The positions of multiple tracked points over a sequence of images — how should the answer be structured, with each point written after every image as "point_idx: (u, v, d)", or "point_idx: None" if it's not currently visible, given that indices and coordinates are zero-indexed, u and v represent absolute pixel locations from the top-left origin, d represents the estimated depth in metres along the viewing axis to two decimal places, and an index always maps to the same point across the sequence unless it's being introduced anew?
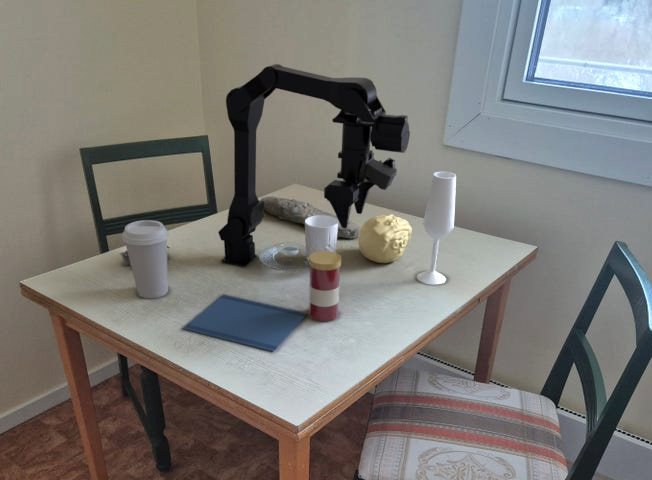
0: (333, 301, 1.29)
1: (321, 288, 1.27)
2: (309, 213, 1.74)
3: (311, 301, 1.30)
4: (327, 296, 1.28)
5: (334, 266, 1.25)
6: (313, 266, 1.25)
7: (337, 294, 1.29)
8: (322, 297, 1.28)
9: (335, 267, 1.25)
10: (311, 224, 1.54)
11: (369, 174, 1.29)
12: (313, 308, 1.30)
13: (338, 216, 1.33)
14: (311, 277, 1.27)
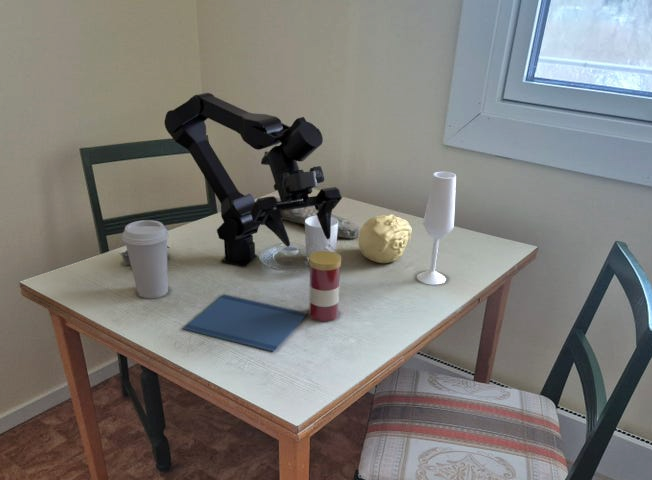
0: (333, 301, 1.29)
1: (321, 288, 1.27)
2: (309, 213, 1.74)
3: (311, 301, 1.30)
4: (327, 296, 1.28)
5: (334, 266, 1.25)
6: (313, 266, 1.25)
7: (337, 294, 1.29)
8: (322, 297, 1.28)
9: (335, 267, 1.25)
10: (311, 224, 1.54)
11: (286, 184, 1.29)
12: (313, 308, 1.30)
13: (279, 237, 1.31)
14: (311, 277, 1.27)
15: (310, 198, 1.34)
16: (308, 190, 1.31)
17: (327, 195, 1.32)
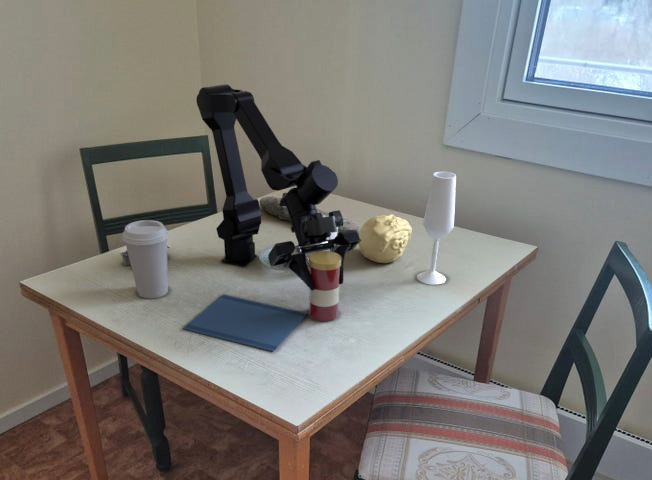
0: (333, 301, 1.29)
1: (321, 288, 1.27)
2: None
3: (311, 301, 1.30)
4: (327, 296, 1.28)
5: (334, 266, 1.25)
6: (313, 266, 1.25)
7: (337, 294, 1.29)
8: (322, 297, 1.28)
9: (335, 267, 1.25)
10: None
11: (304, 228, 1.25)
12: (313, 308, 1.30)
13: (303, 280, 1.28)
14: None
15: (328, 241, 1.31)
16: (327, 234, 1.28)
17: (346, 238, 1.29)
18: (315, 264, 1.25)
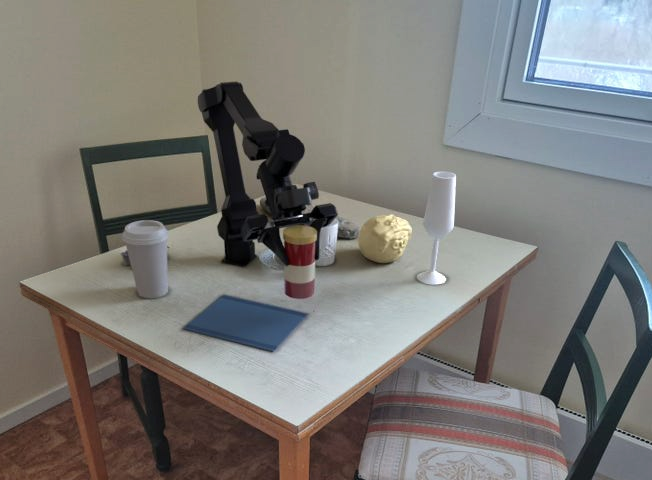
0: (309, 278, 1.24)
1: (296, 264, 1.22)
2: None
3: (286, 278, 1.25)
4: (302, 272, 1.22)
5: (309, 240, 1.19)
6: (287, 240, 1.20)
7: (313, 270, 1.24)
8: (297, 273, 1.23)
9: (310, 241, 1.20)
10: None
11: (278, 201, 1.20)
12: (288, 285, 1.25)
13: (277, 255, 1.23)
14: None
15: (304, 215, 1.25)
16: (302, 207, 1.22)
17: (322, 212, 1.24)
18: (289, 238, 1.19)
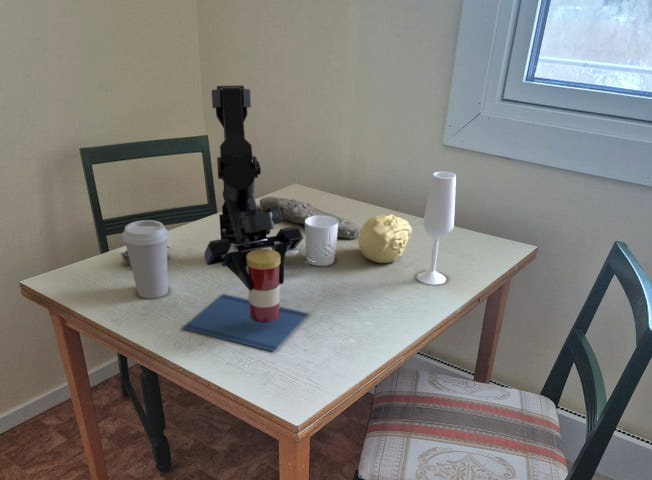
0: (273, 302, 1.23)
1: (259, 288, 1.21)
2: (309, 213, 1.74)
3: (250, 301, 1.24)
4: (266, 296, 1.22)
5: (272, 265, 1.18)
6: (250, 265, 1.19)
7: (277, 294, 1.23)
8: (261, 297, 1.22)
9: (273, 266, 1.19)
10: (311, 224, 1.54)
11: (241, 225, 1.19)
12: (252, 309, 1.24)
13: (241, 280, 1.22)
14: (249, 276, 1.21)
15: (269, 238, 1.24)
16: (265, 231, 1.22)
17: (286, 236, 1.23)
18: (252, 263, 1.18)
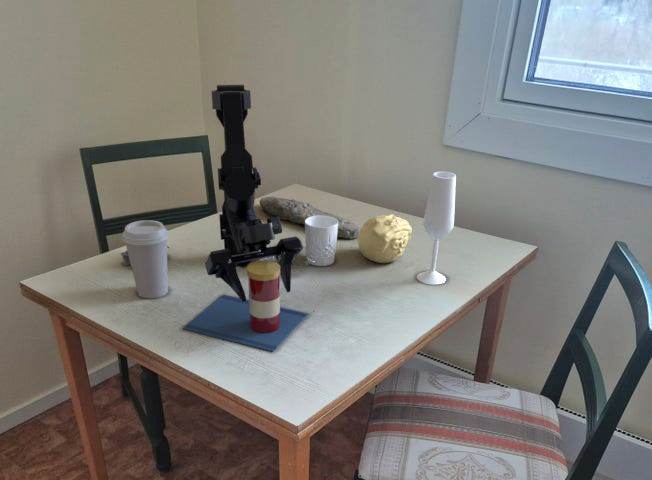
0: (274, 313, 1.24)
1: (259, 299, 1.22)
2: (309, 213, 1.74)
3: (251, 312, 1.25)
4: (266, 307, 1.23)
5: (272, 276, 1.20)
6: (250, 276, 1.20)
7: (277, 305, 1.24)
8: (261, 308, 1.23)
9: (273, 277, 1.20)
10: (311, 224, 1.54)
11: (241, 235, 1.20)
12: (253, 320, 1.26)
13: (235, 291, 1.23)
14: (249, 288, 1.23)
15: (269, 248, 1.25)
16: (266, 241, 1.23)
17: (287, 246, 1.24)
18: (252, 274, 1.20)
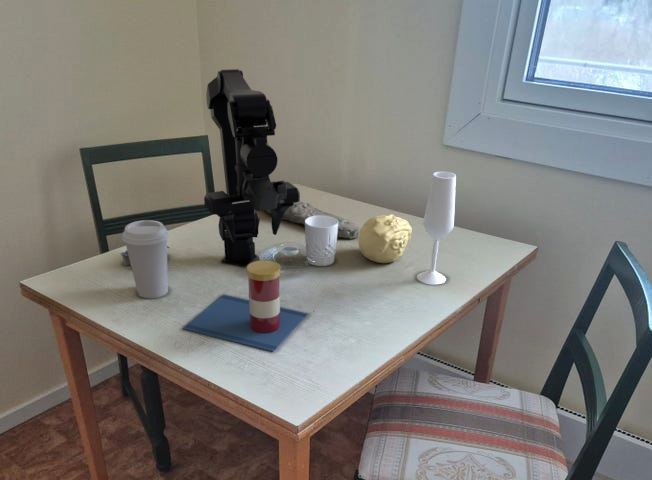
0: (274, 313, 1.24)
1: (259, 299, 1.22)
2: (309, 213, 1.74)
3: (251, 312, 1.25)
4: (266, 307, 1.23)
5: (272, 276, 1.20)
6: (250, 276, 1.20)
7: (277, 305, 1.24)
8: (261, 308, 1.23)
9: (273, 277, 1.20)
10: (311, 224, 1.54)
11: (246, 191, 1.24)
12: (253, 320, 1.26)
13: (226, 228, 1.31)
14: (249, 288, 1.23)
15: None
16: None
17: (285, 200, 1.29)
18: (252, 274, 1.20)
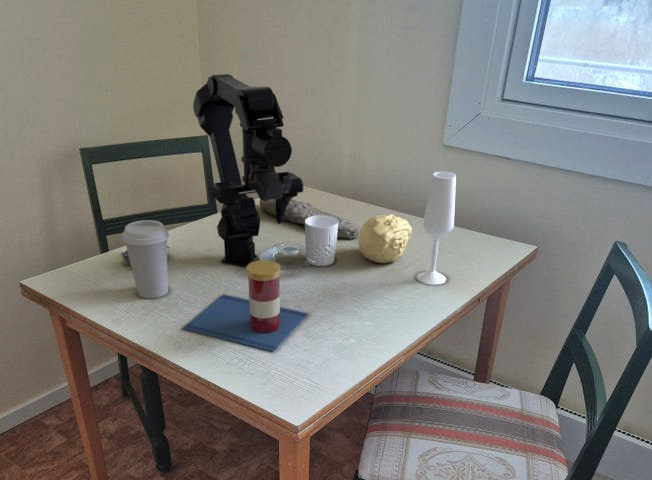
0: (274, 313, 1.24)
1: (259, 299, 1.22)
2: (309, 213, 1.74)
3: (251, 312, 1.25)
4: (266, 307, 1.23)
5: (272, 276, 1.20)
6: (250, 276, 1.20)
7: (277, 305, 1.24)
8: (261, 308, 1.23)
9: (273, 277, 1.20)
10: (311, 224, 1.54)
11: (253, 181, 1.29)
12: (253, 320, 1.26)
13: (233, 217, 1.37)
14: (249, 288, 1.23)
15: None
16: None
17: (289, 190, 1.35)
18: (252, 274, 1.20)
